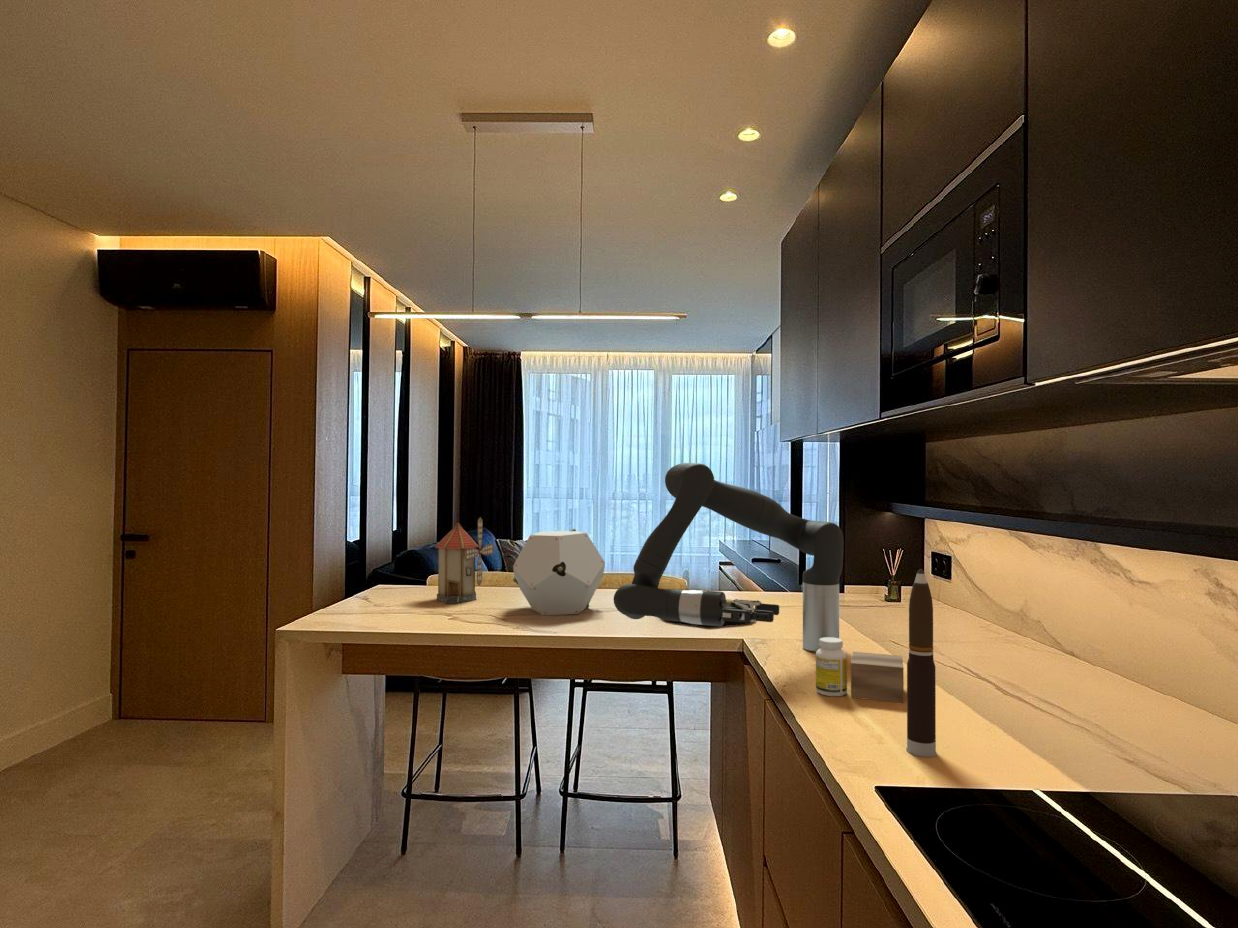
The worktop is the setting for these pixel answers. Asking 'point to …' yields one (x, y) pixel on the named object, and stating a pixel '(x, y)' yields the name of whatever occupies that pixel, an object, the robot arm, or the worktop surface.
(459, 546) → the miniature windmill
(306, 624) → the worktop surface
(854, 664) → the walnut block
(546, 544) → the geometric sculpture
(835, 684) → the pill bottle
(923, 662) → the ammunition
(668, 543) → the robot arm
